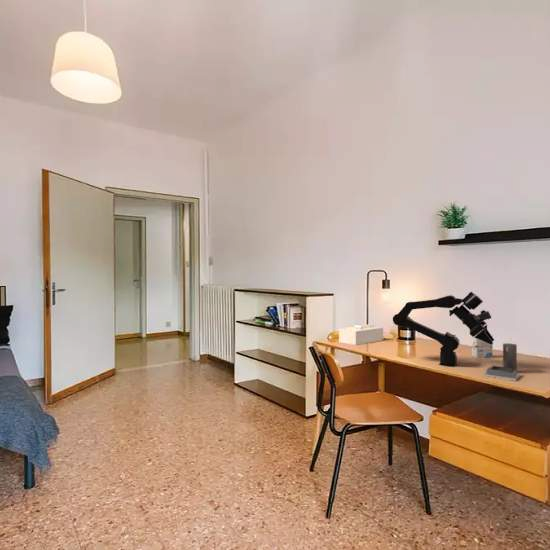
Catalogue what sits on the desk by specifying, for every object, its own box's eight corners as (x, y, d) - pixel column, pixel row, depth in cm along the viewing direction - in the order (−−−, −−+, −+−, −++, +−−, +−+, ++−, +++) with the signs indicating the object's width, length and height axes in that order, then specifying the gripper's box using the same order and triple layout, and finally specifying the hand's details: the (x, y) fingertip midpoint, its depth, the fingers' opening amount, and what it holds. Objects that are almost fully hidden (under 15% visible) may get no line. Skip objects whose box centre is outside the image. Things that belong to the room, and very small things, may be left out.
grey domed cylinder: (501, 371, 175) (501, 344, 175) (504, 369, 179) (504, 342, 179) (515, 373, 172) (515, 346, 172) (517, 371, 176) (517, 344, 175)
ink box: (487, 355, 207) (487, 333, 207) (492, 358, 202) (492, 335, 202) (471, 356, 207) (471, 333, 206) (476, 358, 202) (476, 335, 201)
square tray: (483, 376, 168) (482, 369, 168) (489, 371, 176) (489, 364, 176) (515, 381, 160) (515, 373, 160) (520, 375, 168) (520, 368, 168)
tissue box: (339, 342, 251) (338, 325, 251) (366, 338, 266) (365, 321, 266) (355, 345, 240) (355, 327, 239) (383, 341, 254) (383, 324, 254)
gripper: (477, 306, 173) (507, 333, 168) (481, 303, 189) (507, 327, 184) (458, 323, 177) (486, 350, 172) (463, 318, 193) (488, 343, 188)
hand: (493, 342), depth 179 cm, fingers open, 9 cm apart
